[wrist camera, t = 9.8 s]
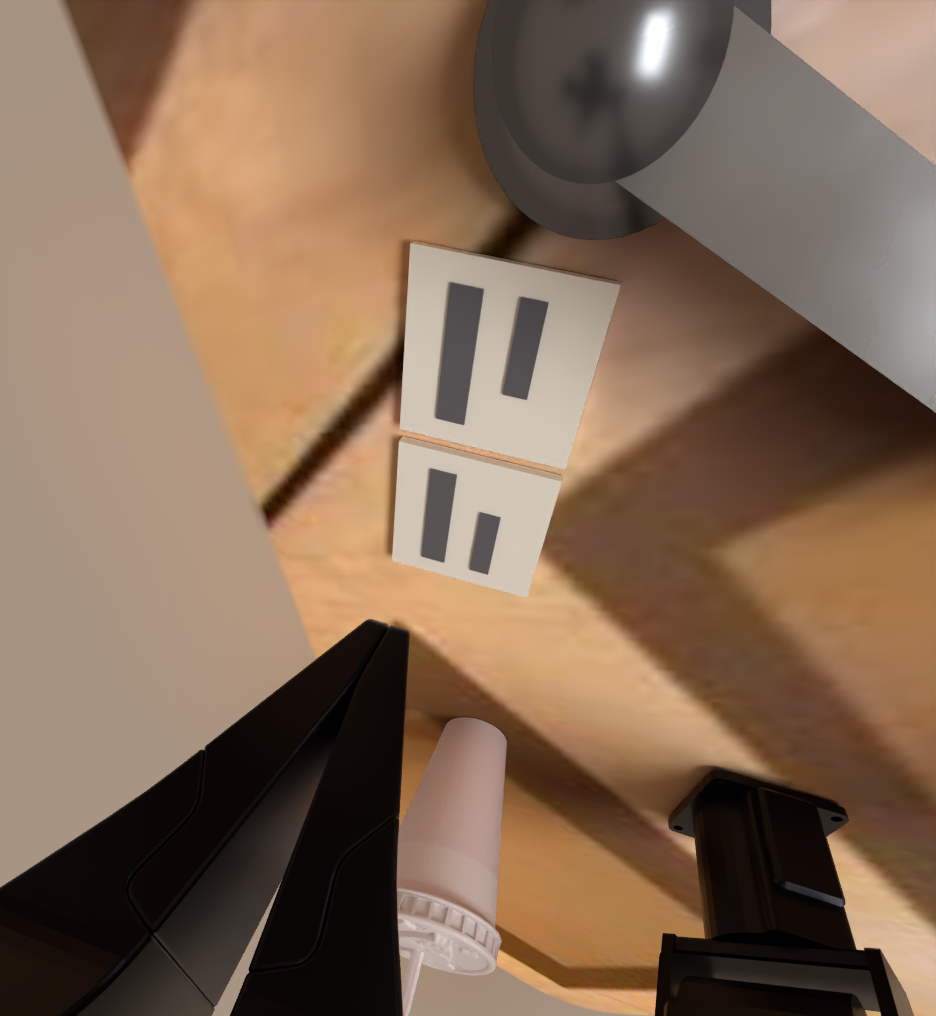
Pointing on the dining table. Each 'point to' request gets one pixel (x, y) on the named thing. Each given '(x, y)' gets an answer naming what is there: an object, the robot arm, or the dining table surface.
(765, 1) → the pivot base
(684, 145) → the swing arm
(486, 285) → the label
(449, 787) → the smoothie
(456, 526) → the label
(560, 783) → the dining table surface
